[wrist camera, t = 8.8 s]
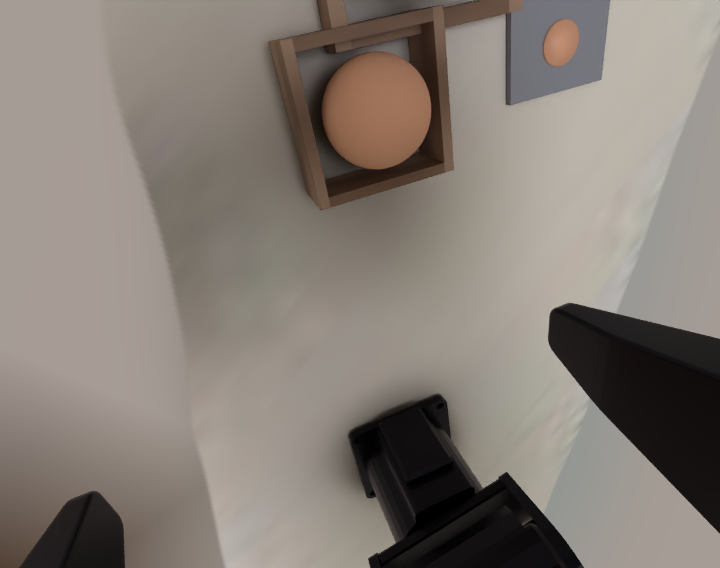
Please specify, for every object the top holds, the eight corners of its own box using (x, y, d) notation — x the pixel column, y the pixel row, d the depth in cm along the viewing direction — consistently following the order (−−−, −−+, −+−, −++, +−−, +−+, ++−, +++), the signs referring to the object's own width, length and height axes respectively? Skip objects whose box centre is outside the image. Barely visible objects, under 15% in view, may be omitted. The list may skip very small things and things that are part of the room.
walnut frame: (428, 158, 20) (453, 169, 18) (308, 194, 18) (321, 210, 17) (414, 9, 16) (442, 4, 15) (268, 41, 15) (279, 40, 14)
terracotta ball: (408, 143, 19) (455, 164, 16) (323, 167, 18) (353, 195, 15) (396, 40, 17) (447, 39, 13) (299, 63, 16) (327, 67, 13)
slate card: (596, 79, 21) (603, 79, 20) (506, 104, 20) (512, 105, 19) (616, -114, 17) (624, -117, 17) (506, -94, 16) (513, -98, 16)
